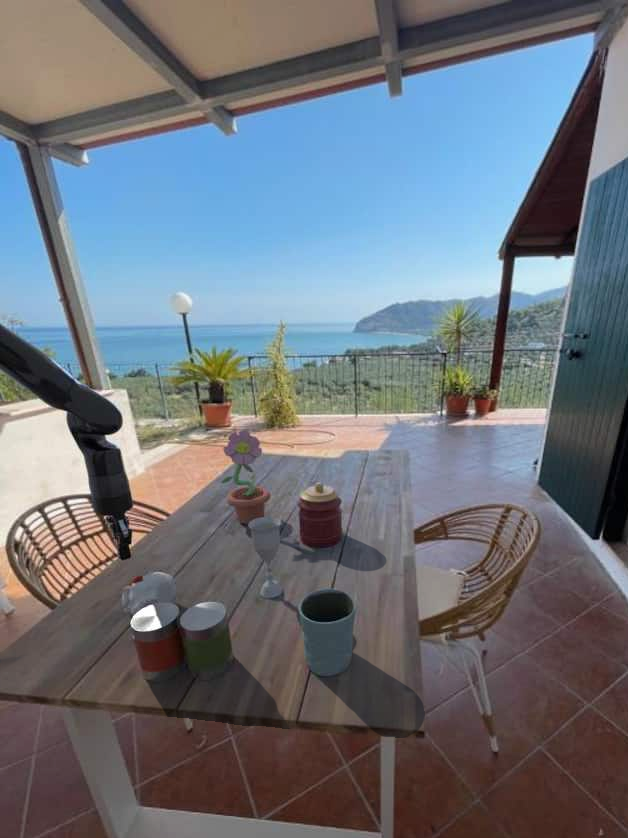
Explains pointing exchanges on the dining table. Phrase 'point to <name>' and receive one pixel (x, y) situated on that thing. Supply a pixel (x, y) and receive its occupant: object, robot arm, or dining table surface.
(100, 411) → the robot arm
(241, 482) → the decorative flower
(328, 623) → the light blue cup
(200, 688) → the dining table surface
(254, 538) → the chalice
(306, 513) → the kitchen canister
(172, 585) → the grey rounded lumpy piece
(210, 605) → the tin cans
